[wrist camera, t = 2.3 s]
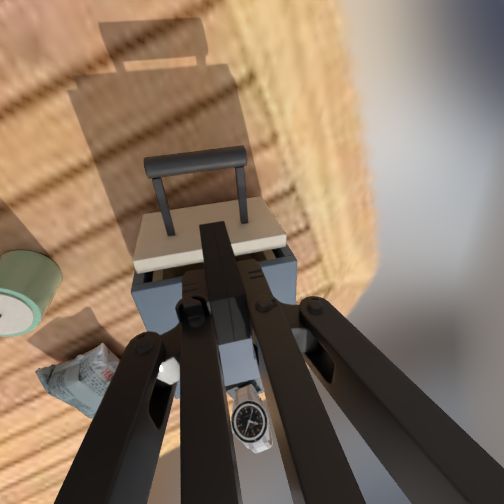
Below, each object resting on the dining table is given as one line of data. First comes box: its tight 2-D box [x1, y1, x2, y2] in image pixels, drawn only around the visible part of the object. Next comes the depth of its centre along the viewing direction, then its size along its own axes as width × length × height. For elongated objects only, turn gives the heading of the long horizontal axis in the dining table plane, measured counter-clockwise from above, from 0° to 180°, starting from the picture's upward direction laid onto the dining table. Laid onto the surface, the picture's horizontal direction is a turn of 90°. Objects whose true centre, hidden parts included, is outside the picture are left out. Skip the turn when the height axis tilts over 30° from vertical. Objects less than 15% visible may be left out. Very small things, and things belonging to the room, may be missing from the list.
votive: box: [0, 250, 62, 337], centre depth 25 cm, size 6×6×6 cm
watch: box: [225, 377, 273, 454], centre depth 40 cm, size 6×8×11 cm
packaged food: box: [36, 343, 120, 418], centre depth 35 cm, size 9×12×5 cm
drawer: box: [133, 146, 286, 282], centre depth 26 cm, size 20×11×8 cm, turn 4°
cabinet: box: [131, 243, 297, 399], centre depth 29 cm, size 15×13×10 cm
